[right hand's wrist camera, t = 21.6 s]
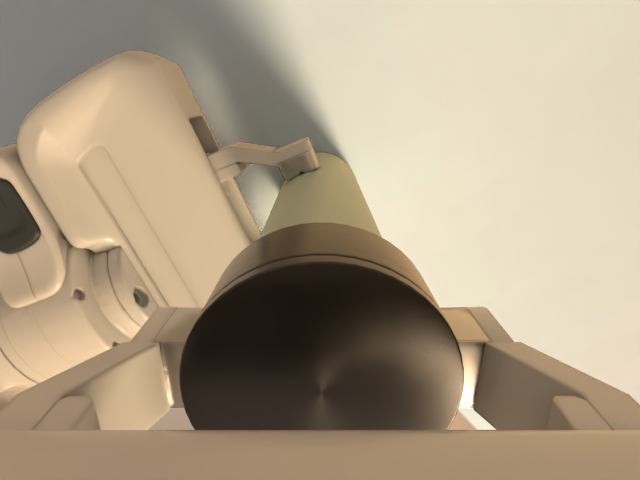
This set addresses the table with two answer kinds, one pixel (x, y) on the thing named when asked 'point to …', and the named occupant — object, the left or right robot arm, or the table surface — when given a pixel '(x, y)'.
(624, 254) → the table surface
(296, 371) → the lid
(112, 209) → the left robot arm
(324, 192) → the pale green tall cylinder
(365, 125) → the table surface
